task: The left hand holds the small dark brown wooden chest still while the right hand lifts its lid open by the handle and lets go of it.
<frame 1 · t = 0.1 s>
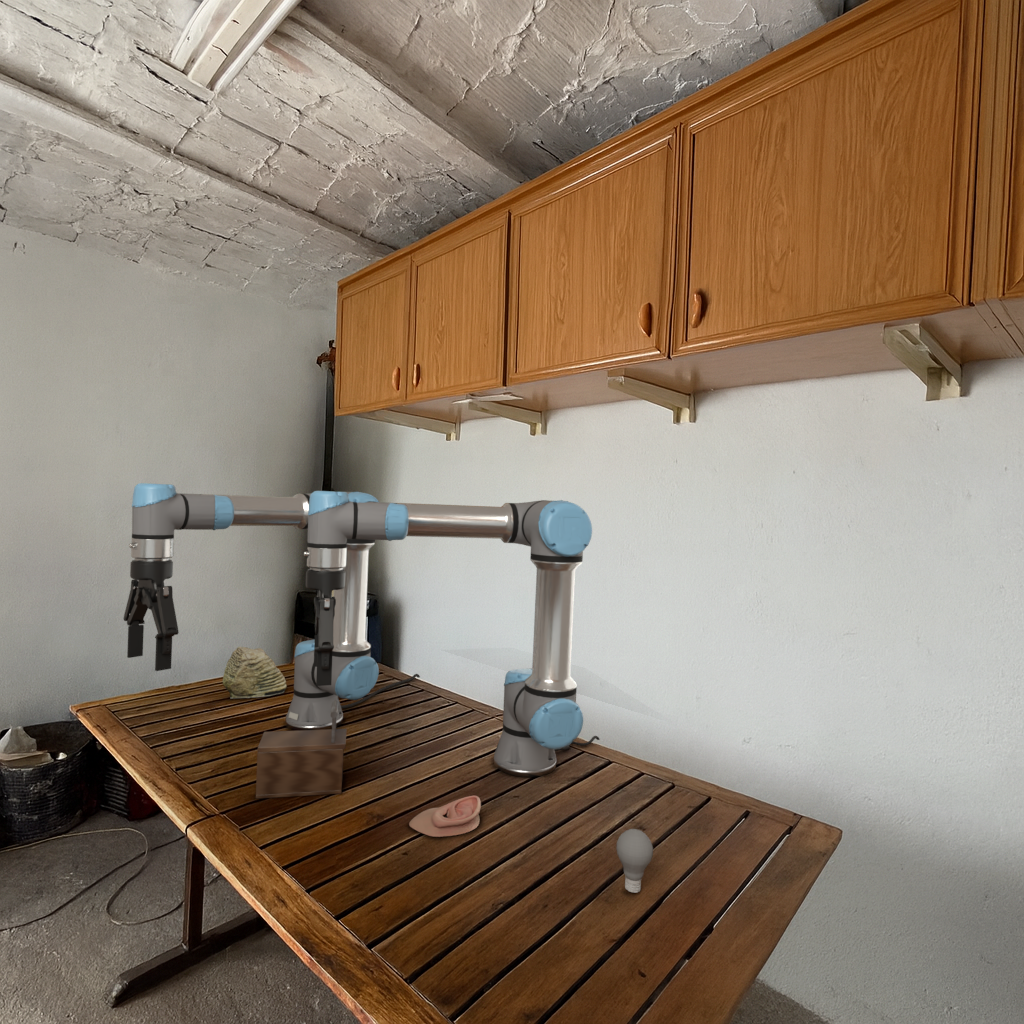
left hand: (148, 663, 129), 28 cm above the table, tool pointing down, fingers open, 13 cm apart
right hand: (322, 675, 126), 28 cm above the table, tool pointing down, fingers open, 13 cm apart
anatomical model: (445, 823, 125), on the table
chest: (301, 786, 138), on the table
fossil: (254, 694, 198), on the table
light bulb: (632, 891, 106), on the table
lid: (304, 724, 138), point 14 cm above the table, hinge at 0.0°
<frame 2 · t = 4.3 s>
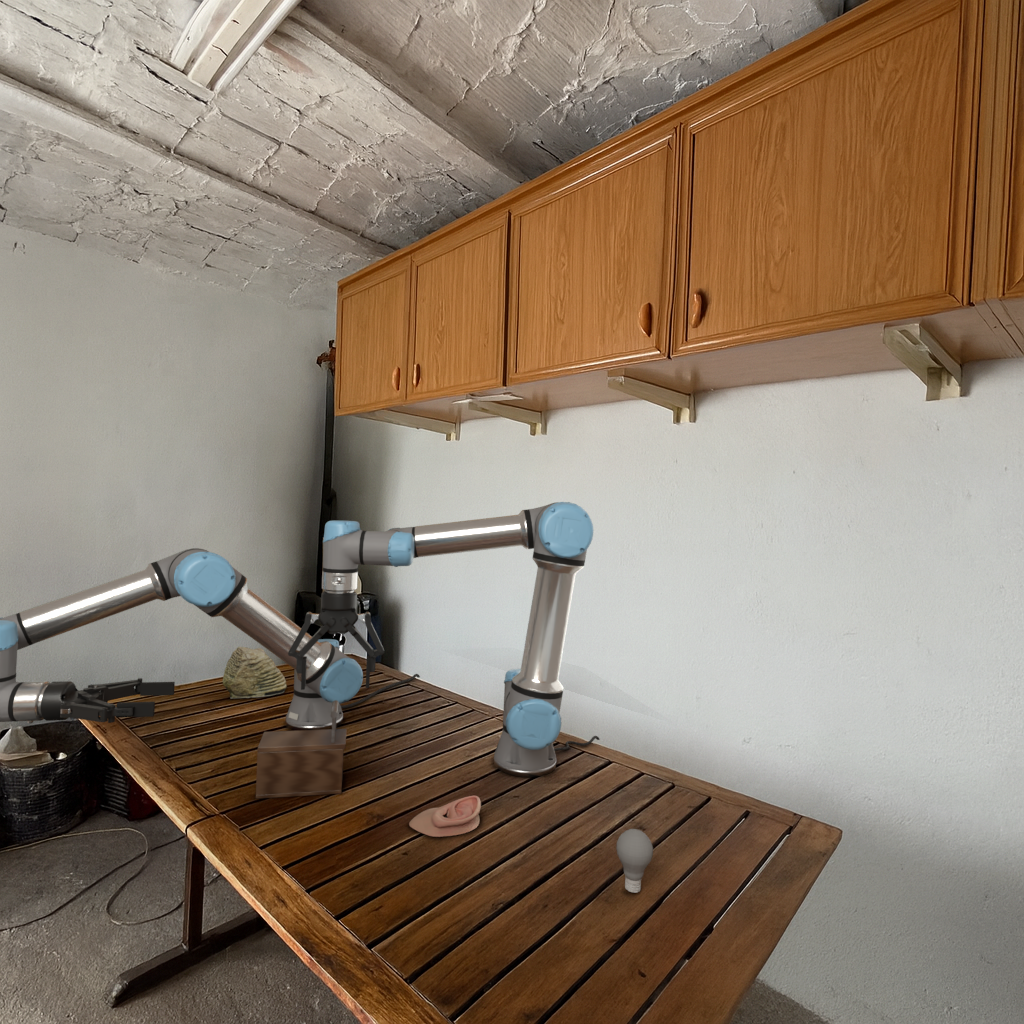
left hand: (164, 698, 131), 20 cm above the table, tool horizontal, fingers open, 13 cm apart
right hand: (335, 687, 139), 22 cm above the table, tool pointing down, fingers open, 13 cm apart
nothing on the table moved.
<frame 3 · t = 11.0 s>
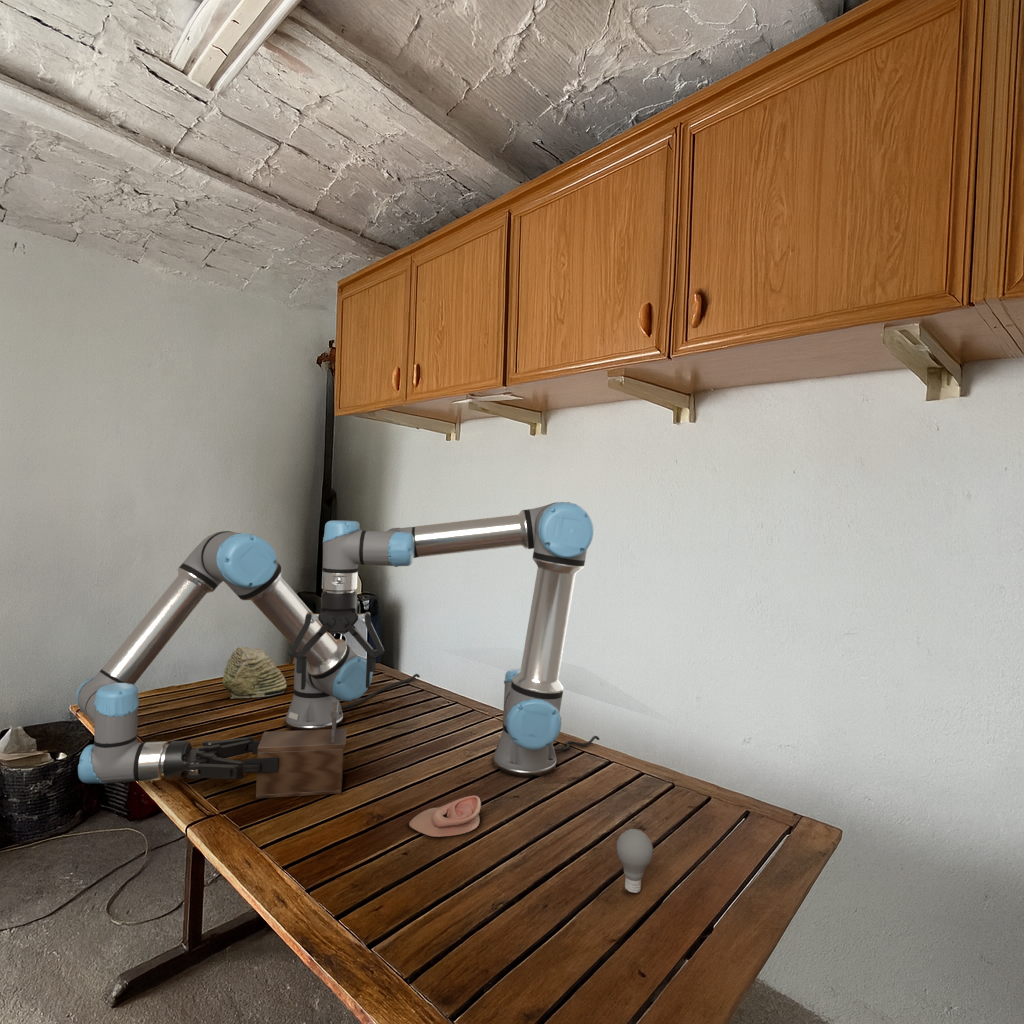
left hand: (281, 755, 137), 7 cm above the table, tool horizontal, fingers closed on chest, 9 cm apart
right hand: (335, 687, 139), 22 cm above the table, tool pointing down, fingers open, 13 cm apart
chest: (301, 786, 138), on the table, touching left hand
everything else where it was.
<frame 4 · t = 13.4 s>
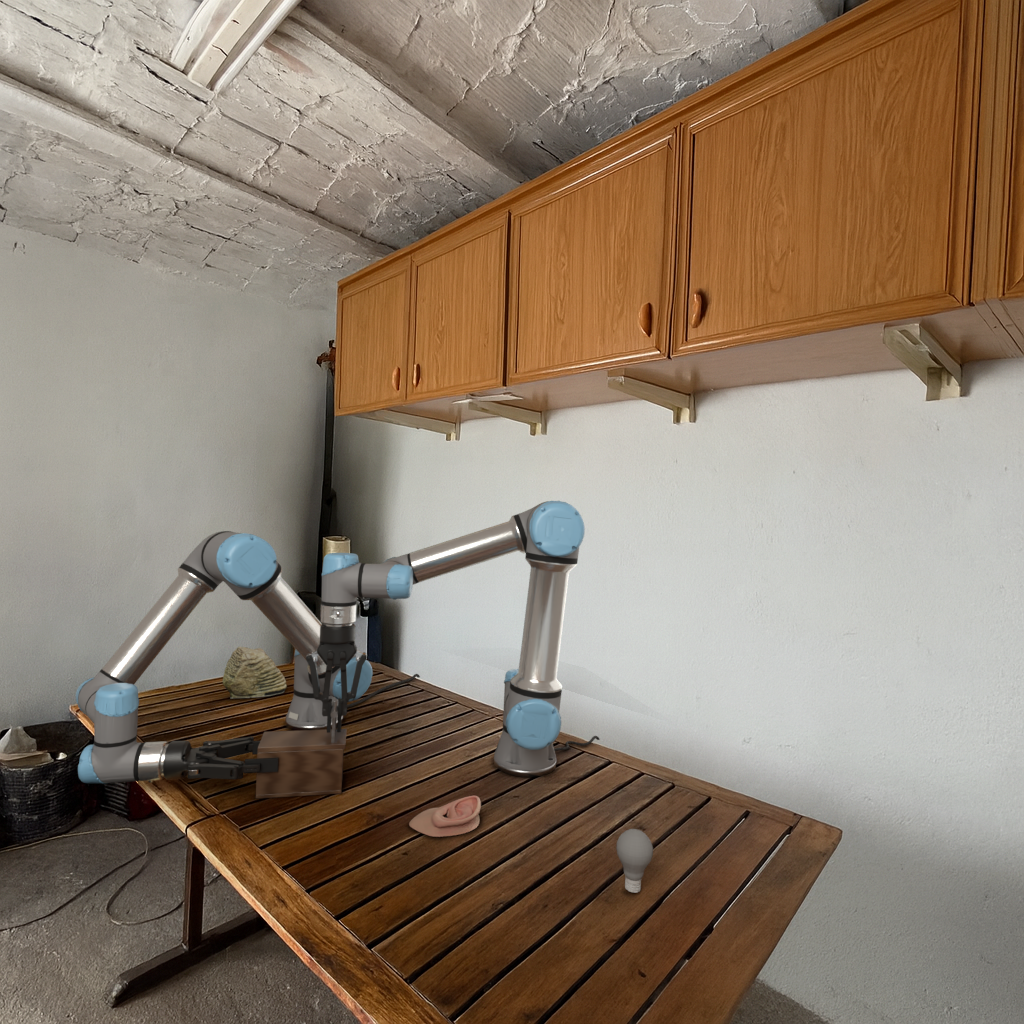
left hand: (281, 755, 137), 7 cm above the table, tool horizontal, fingers closed on chest, 9 cm apart
right hand: (333, 729, 139), 12 cm above the table, tool pointing down, fingers closed on lid, 1 cm apart
chest: (301, 786, 138), on the table, touching left hand
lid: (304, 724, 138), point 14 cm above the table, hinge at -0.1°, touching right hand
everything else where it was.
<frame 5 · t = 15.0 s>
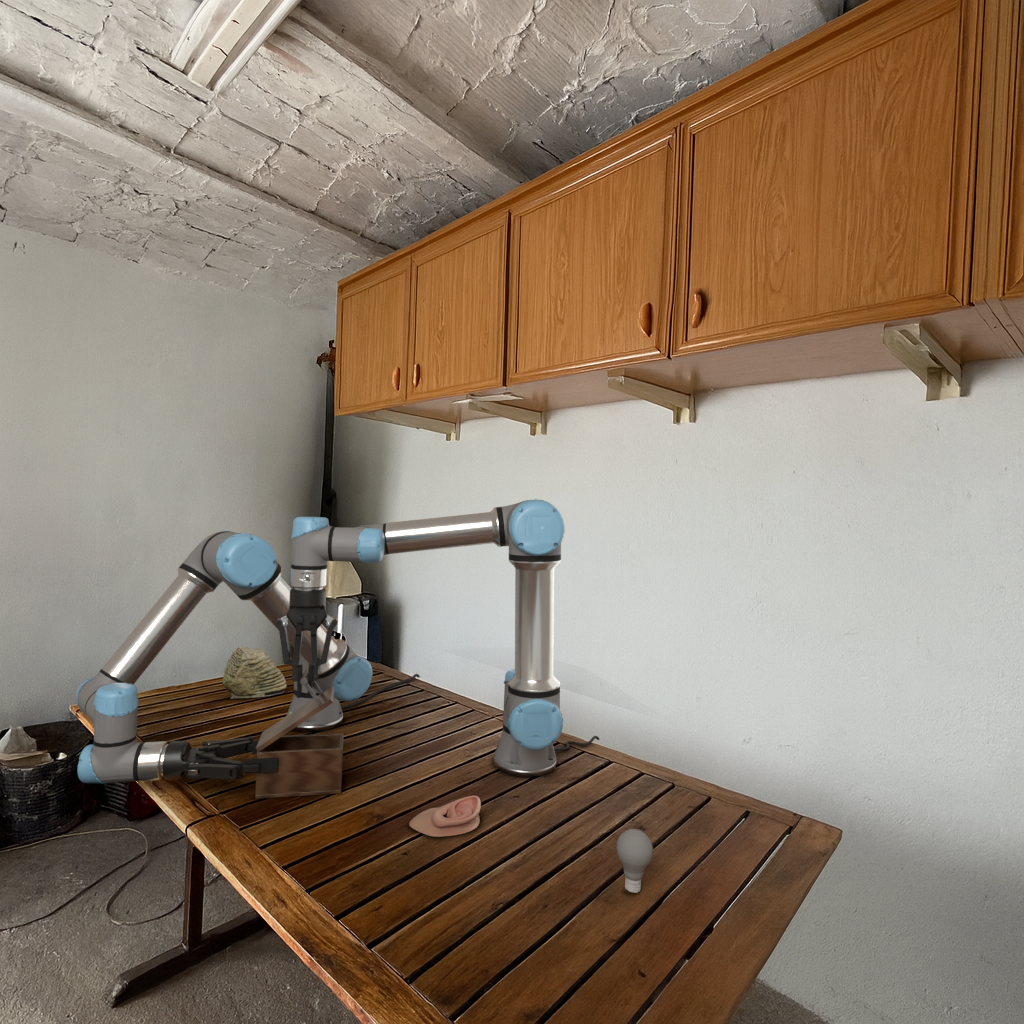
left hand: (280, 755, 137), 7 cm above the table, tool horizontal, fingers closed on chest, 9 cm apart
right hand: (304, 695, 138), 20 cm above the table, tool pointing down, fingers closed on lid, 1 cm apart
chest: (300, 786, 138), on the table, touching left hand
lid: (288, 705, 137), point 18 cm above the table, hinge at 34.2°, touching right hand
everything else where it was.
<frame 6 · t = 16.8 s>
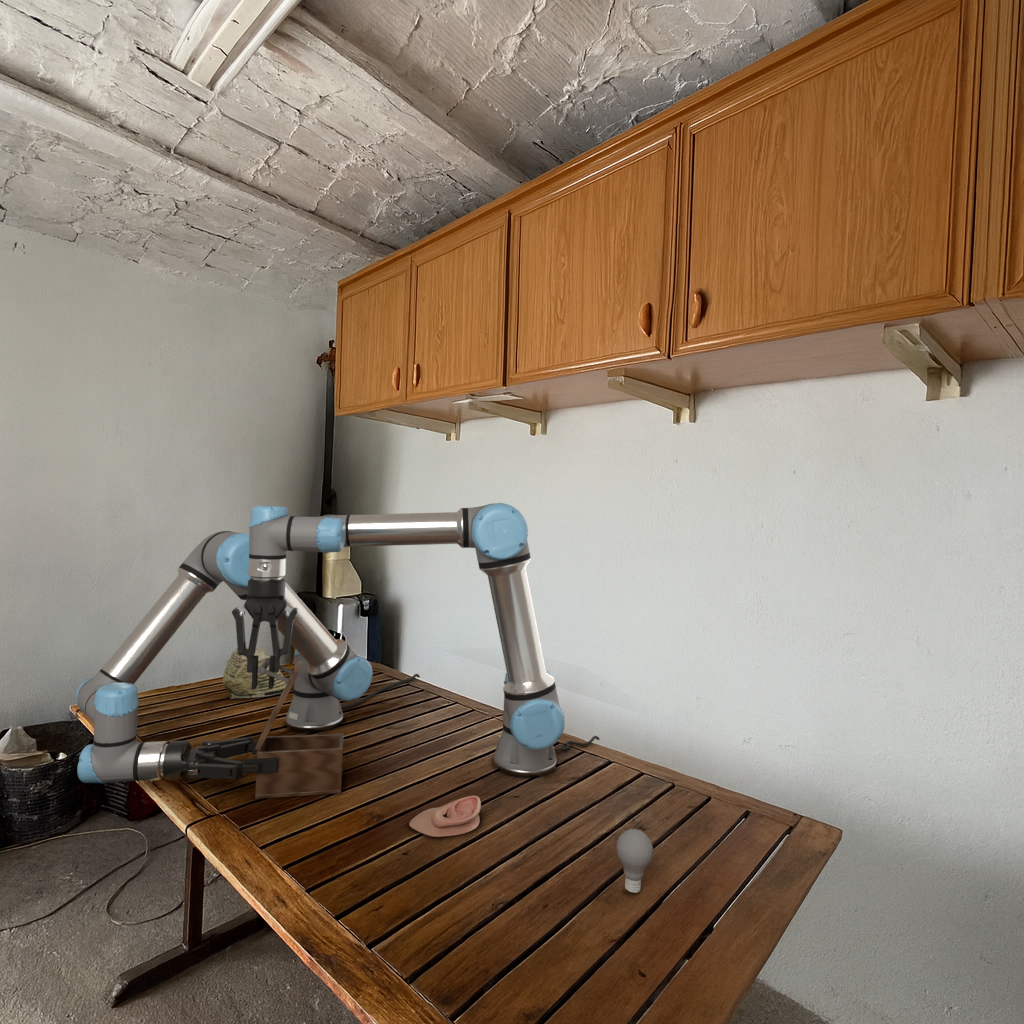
left hand: (280, 755, 137), 7 cm above the table, tool horizontal, fingers closed on chest, 9 cm apart
right hand: (262, 686, 136), 22 cm above the table, tool pointing down, fingers open, 3 cm apart
chest: (300, 786, 138), on the table, touching left hand
lid: (264, 698, 136), point 20 cm above the table, hinge at 65.6°
everything else where it was.
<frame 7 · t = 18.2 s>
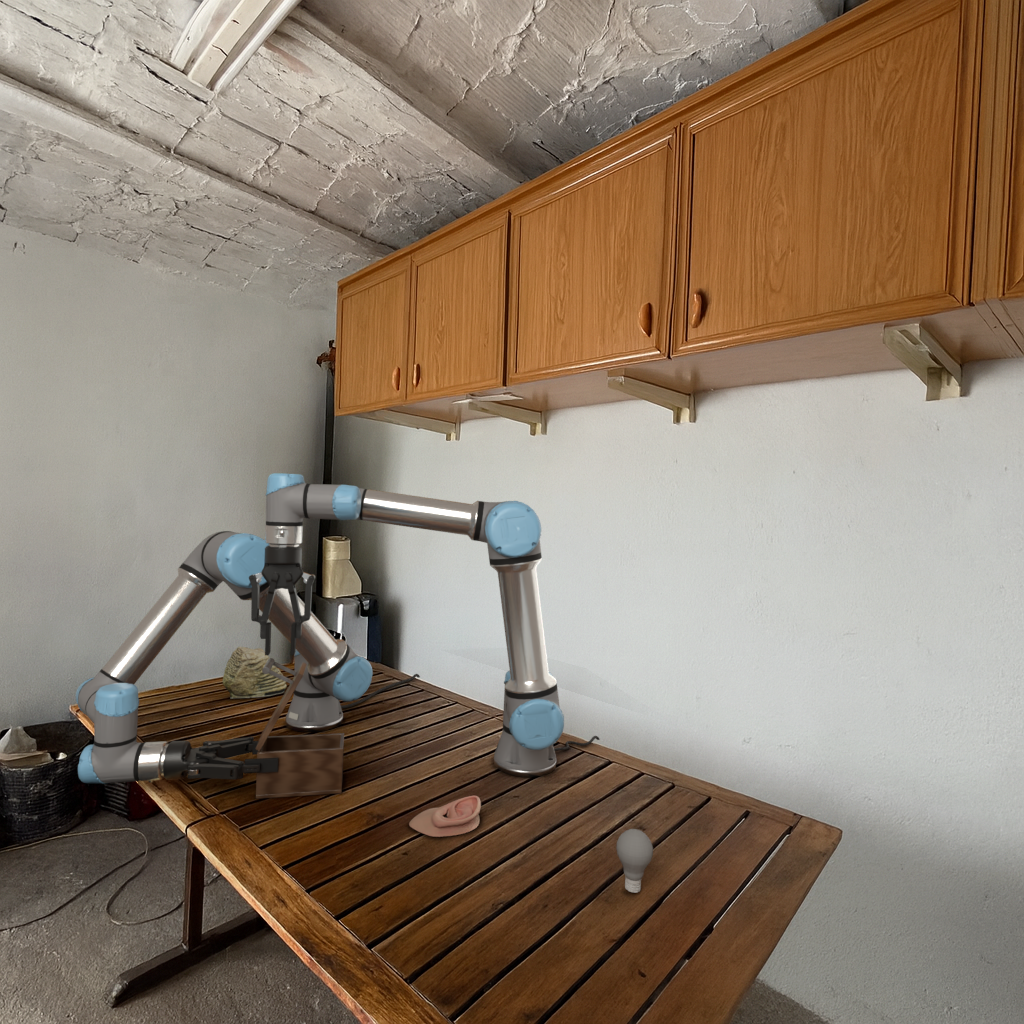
left hand: (281, 755, 137), 7 cm above the table, tool horizontal, fingers closed on chest, 9 cm apart
right hand: (280, 653, 136), 29 cm above the table, tool pointing down, fingers open, 4 cm apart
chest: (301, 786, 138), on the table, touching left hand
lid: (267, 698, 136), point 20 cm above the table, hinge at 62.6°
everything else where it was.
when the left hand's fingers open (7 cm above the table, at t = 20.5 s): chest stays where it is, on the table.
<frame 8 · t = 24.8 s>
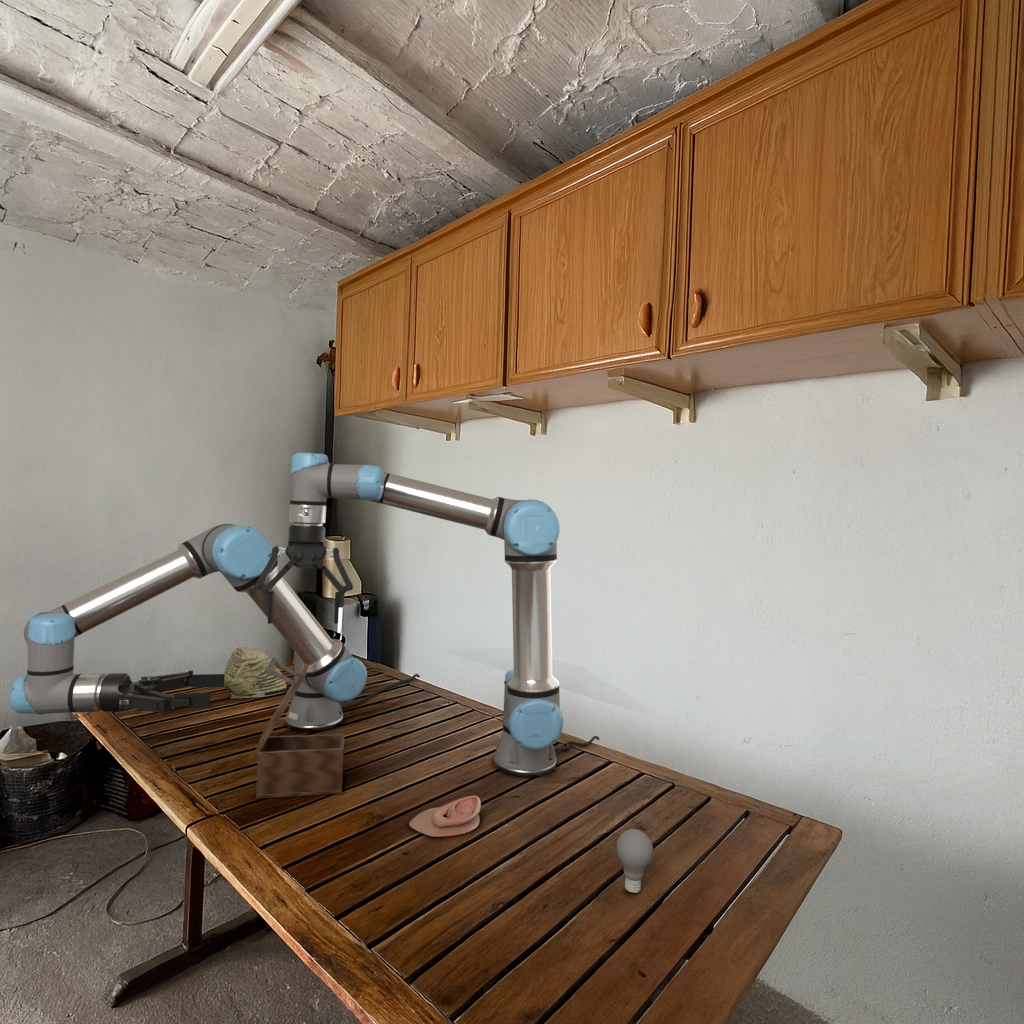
left hand: (217, 689, 134), 22 cm above the table, tool horizontal, fingers open, 13 cm apart
right hand: (303, 622, 137), 36 cm above the table, tool pointing down, fingers open, 13 cm apart
chest: (301, 786, 138), on the table
lid: (268, 698, 136), point 20 cm above the table, hinge at 61.5°
everything else where it was.
at the end: lid at +62° (first picture: +0°); the left hand is holding nothing; the right hand is holding nothing; chest tilted 0°; chest never tilted more than 1° during the clip; chest moved 0.1 cm from its start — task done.
